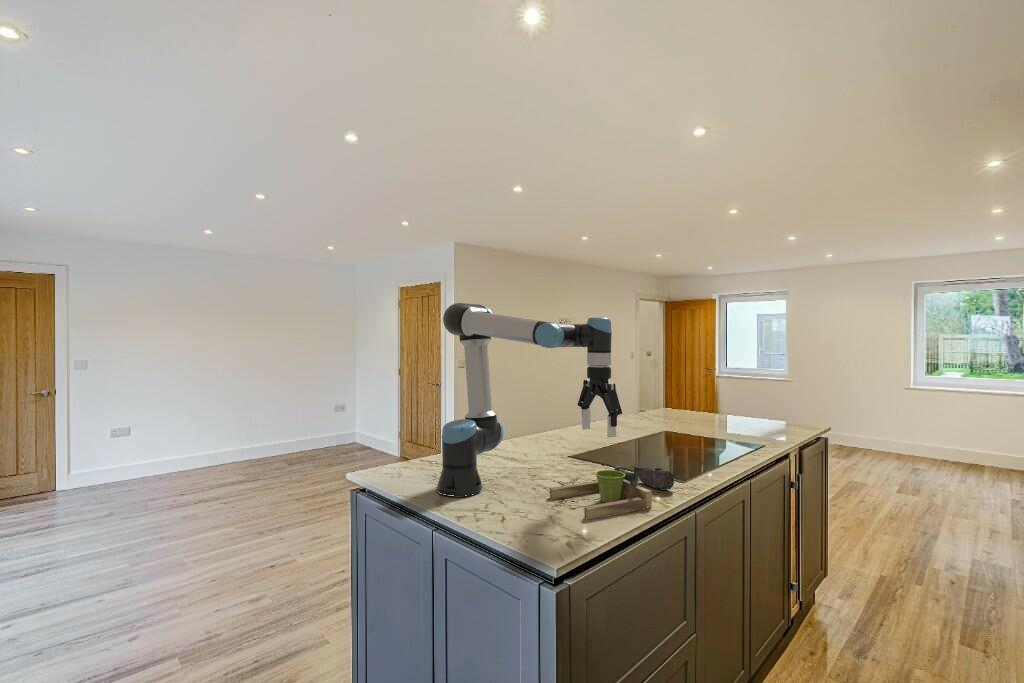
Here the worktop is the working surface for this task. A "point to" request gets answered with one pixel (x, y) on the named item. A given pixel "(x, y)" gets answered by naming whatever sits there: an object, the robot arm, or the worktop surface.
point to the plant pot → (610, 485)
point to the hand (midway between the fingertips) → (598, 433)
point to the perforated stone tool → (656, 478)
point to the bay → (630, 491)
